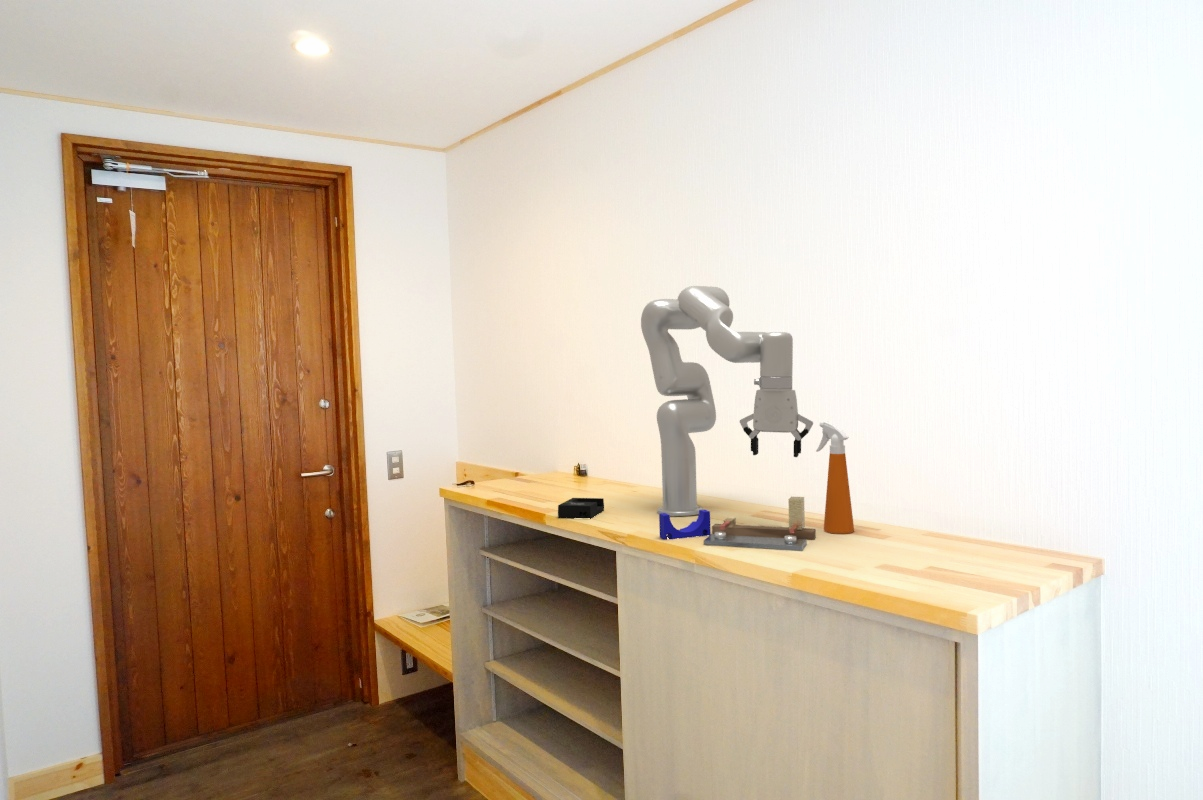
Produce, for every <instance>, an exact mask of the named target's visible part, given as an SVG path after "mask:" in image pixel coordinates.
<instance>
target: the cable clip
mask: <svg viewBox="0 0 1203 800" xmlns="http://www.w3.org/2000/svg"><path fill="white" fill-rule="evenodd" d="M658 515H659V516H658V521H659V524H658V525H659V526H658V527H659V528H658V529H659V538H660V539H661V540H664V541H667V537H668V538H669V540H677V538H679V539H687V537H689V538H697V537H696V536H699V537H708V536H707V535H709V536H710V535H711V532H712V531H711V511H709V510H708V509H703V510H699V514H698V515H697V519H696V520H694V521H691V523H689V524H688V525H687V526H685V527H683V528H680V529H677V528H676V527H675V526H674V524H673V523H672V520H671V518H670V517H671V516H670V515H668V514H666V513H660V514H659V513H658Z"/></svg>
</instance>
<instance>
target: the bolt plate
mask: <svg viewBox="0 0 1203 800" xmlns="http://www.w3.org/2000/svg"><path fill="white" fill-rule="evenodd" d="M807 543H808V542H807V539H796V536H792V535H788V536H784V538H771V537H753V536H735V535H726V532H715V533H714V534H711V535H709V536H706V538H705V539H704V540H703V546H716V547H717V546H718V547H735V548H752V549H766V550H767V549H769V550H783V551H784V550H785V551H799V552H802V551H803V550H804V548H805V547H806V545H807Z"/></svg>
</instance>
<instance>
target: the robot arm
mask: <svg viewBox="0 0 1203 800" xmlns="http://www.w3.org/2000/svg"><path fill="white" fill-rule="evenodd" d="M640 317H641V318H640V329H641V334H642V335H643V339H644V341H645V343H646V346H647V349H648V353H649V358H650V362H651V369H652V373H653V377H654V379H653V380H654V383H655V387H656V390H657V392H658V393H659V394H660V395H661V396H664V397H682V396H684V397H687V399H685V398H684V399H672V400H668V401H665V402H663V403H662V404H661V405H660V406H659V407H658V409H657V412H656V423H657V427H658V432H659V437H660V449H661V451H660V452H661V455H660V456H661V457H660V458H661V478H662V479H661V480H662V481H661V482H662V483H661V485H662V487H661V488H662V506H659V507H658V508H657V514H658V515H659V514H660V513H666V514H668V515H670V517H686V516H687V517H689V516H695V515H697V516H698V515H699V510H704V509H703V507H702V506H699V505H698V502H697V501H698V500H697V499H698V498H697V497H698V496H697V495H698V493H697V491H698V490H697V459H696V458H697V457H696V456H697V455H696V447H695V444H694V443H693V441H692V438H691V436H690V434H692V433H693V434H695V433H703V432H704V433H705V432H708V431H710V430H711V429H712V428H714V426H715V424H716V421H717V412H716V404H715V401H714V400H715V399H714V394H713V390H712V385H711V381H710V378H709V374H708V372H707V370H706V369H705V368H704V366H703V365H701V364H700V363H697V362H691V361H690V362H689V361H686V362H685V361H683V359H682V357H681V351H680V348H679V345H678V343H677V341H676V339H675V338H674V337H673V336H672V335H671V333H670V332H669V330H695V329H699V328H701V329H702V330H703V331H705V337H706V341H707V343H708V346H709V348H711V349H712V351H713V352H715V354H717V355H719V356H720V357H721V358H722V359H723V360H726V361H727V362H730V363H733V364H734V363H735V364H739V363H740V364H743V363H750V364H751V363H760V364H759V374H760V375H759V377H758V378H756V379H755V378H754V379H753V384H754V386H758V387H759V389H757V390H756V392H755V396H754V403H753V413H752V414H749V415H747V416H745V417H743V418H741V419H739V424H740V426H741V427H742V430H743V432H744V433H745V434H746V436H748V439H749V438H750V452H752V455H753V456H756V455H758V454H759V438H758V435H759V434H760V433H761V432H764V433H782V434H783V433H790V434H791V436H793V438H794V440H793V457H794V458H799V454H802V440H803V438H804V437H805V436H807V435H808V434H809V432H810V431H811V429H812V427H813V425H814V421H813V420H811V419H809V418H808V417H805V416H803V415H802V414H799V409H798V399H797V394H796V390H795V389H793V367H794V366H793V358H794V357H793V354H794V353H793V352H794V351H793V348H794V346H793V345H794V342H793V340H794V339H793V336H792V334H791V333H790V332H787V331H786V332H785V331H784V332H783V331H782V332H780V331H778V332H777V331H773V332H765V331H735V330H733V329H732V328H731V326H732V323H733V321H734V313H733V310H732V309H731V307H730V298H729V295H728V294H727V292H726V291H725V290H724V289H723V288H721V287H718V286H706V285H705V286H704V285H693V286H688V287H685V288H684V289H683V290H681V291H680V292H679V293H678V296H677V299H676V298H675V299H674V298H659V299H654V300H652V301H649V302H648V303H646V305H645V307H644V308H643V310H642V312H641V316H640ZM750 421H752V427H753V430H752V428H750V427H749V424H748V423H749V422H750ZM799 422H800V423H802V424H804V425H805V427H804V428H803V430H802V431H799V429H798V427H799Z"/></svg>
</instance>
